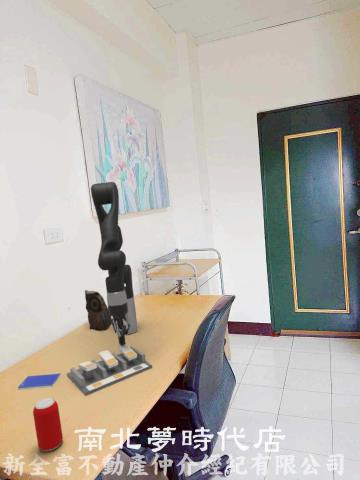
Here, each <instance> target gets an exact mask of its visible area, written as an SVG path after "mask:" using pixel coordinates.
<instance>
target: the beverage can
mask: <svg viewBox="0 0 360 480" xmlns="http://www.w3.org/2000/svg"><path fill="white" fill-rule="evenodd" d="M32 416H33V421H34V429H35V434H36V439H37V447H38V448H39V450H40V451H43V452H51V451H53V450H55V449H57V448H58V447H59V446H60V445H61V444H62V443H63V439H64V437H63V435H64V434H63V430H62V423H61V416H60V410H59V404H58V402H57V401H56V400H55V399H54V398H52V397H47V398H42V399H40V400H39V401H37V402H36V403H35V405H34V407H33V411H32ZM50 449H51V450H50Z"/></svg>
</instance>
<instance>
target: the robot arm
mask: <svg viewBox="0 0 360 480" xmlns="http://www.w3.org/2000/svg"><path fill="white" fill-rule="evenodd" d="M90 192H91V199H92V202H93V206H94V209H95V213H96V216H97V221H98V225H99V232H100V239H101V240H100V242H101V246H100V250H99V253H98V257H97V265H98V267H99V269H100V270H101V271H107V274H108V276H106V277H105V288H106V304H107V307H108V311H109V315H110V316H111V317H112V319H111V320H110V321H111V326H112V328H113V331H114V334H116V336H117V338H118V346H120V345H121V346H122V345H125V344H127V343H126V342H127V341H126V336H127V335H132V334H134V333H135V334H136V332H138V329H139V328H138V327H139V326H138V319H137V311H136V310H137V309H136V304H135V295H134V288H133V287H134V286H133V273H132V267H131V266H130V265H129V264H126V263H127V256H126V254H125V252H124V251H123V250H121V249H122V246H123V243H124V239H123V234H122V229H121V227H120V226H119V208H120V197H119V196H120V195H119V189H118V185H117V183H115V181H109V182H108V181H107V182H99V183H93V184H92V185H91V187H90ZM104 205H110V208H109V210H108V213H107V211H106V210H105V208H104Z"/></svg>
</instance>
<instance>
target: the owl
mask: <svg viewBox="0 0 360 480" xmlns="http://www.w3.org/2000/svg"><path fill="white" fill-rule="evenodd" d="M84 295H85V297H84V298H85V309H86V312H87V321H88V323H89V330H92V331H95V332H101V331H107V330H108V329H109V328H110V326H112V324H111V321H110V320H111V319H113V317H112V316H110V315H109V311H108V304H107V302H105V299H104V297H103V295H102V294H101V293H99V291H95V290H87V289H85V290H84Z"/></svg>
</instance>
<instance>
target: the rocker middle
mask: <svg viewBox="0 0 360 480" xmlns="http://www.w3.org/2000/svg"><path fill="white" fill-rule="evenodd" d="M98 357H99V358H100V360H101V361H103V363H105V364H106V365H107V366H108V368H111V367H114V366H116V365H118V361H117V360H116V359H115V358H114V357H113V355H112V354H111V352H110V351H109V350H108V349H106V350H103V351H100V352H98Z"/></svg>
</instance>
